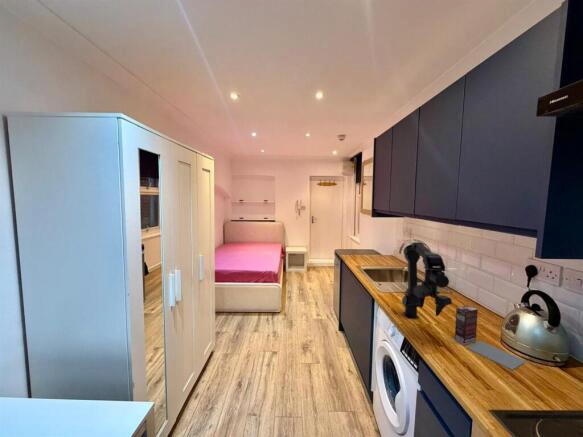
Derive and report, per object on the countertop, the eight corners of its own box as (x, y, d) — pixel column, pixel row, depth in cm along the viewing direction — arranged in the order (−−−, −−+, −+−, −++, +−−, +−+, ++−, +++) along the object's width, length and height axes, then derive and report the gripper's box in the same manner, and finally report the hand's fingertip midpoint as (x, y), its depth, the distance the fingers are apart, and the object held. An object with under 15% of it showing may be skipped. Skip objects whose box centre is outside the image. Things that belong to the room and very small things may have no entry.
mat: (465, 347, 114) (465, 347, 114) (480, 341, 120) (480, 340, 120) (512, 370, 99) (512, 369, 99) (526, 362, 105) (526, 361, 105)
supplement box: (466, 336, 124) (468, 305, 123) (476, 342, 119) (478, 309, 118) (453, 339, 121) (455, 307, 120) (463, 345, 116) (466, 311, 115)
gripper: (403, 275, 128) (401, 305, 130) (434, 288, 111) (432, 322, 112) (420, 274, 132) (418, 303, 133) (453, 286, 114) (451, 319, 116)
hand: (428, 311), depth 123 cm, fingers open, 9 cm apart
